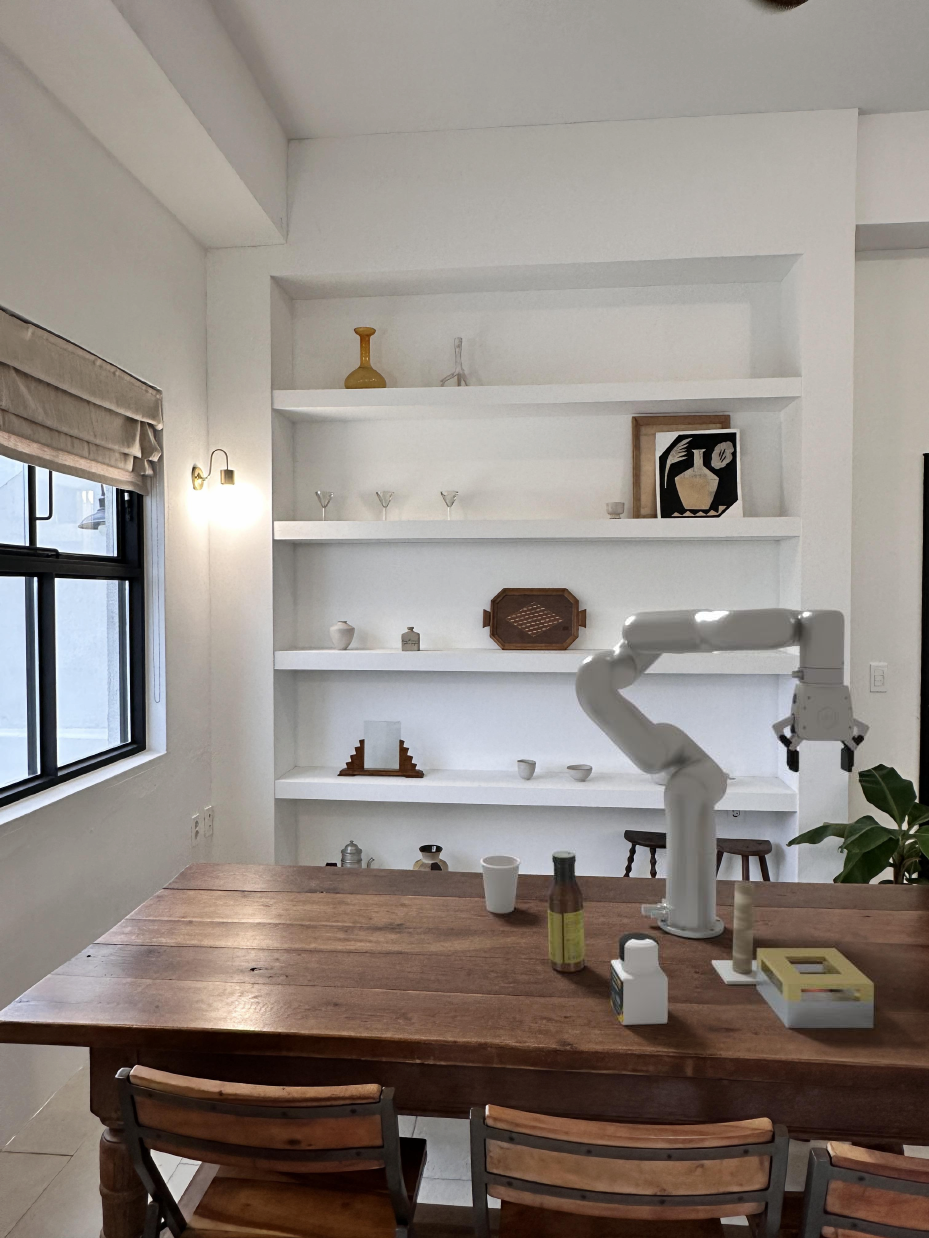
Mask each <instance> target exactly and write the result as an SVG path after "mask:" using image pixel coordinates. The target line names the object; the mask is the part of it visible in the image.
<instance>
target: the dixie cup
mask: <svg viewBox="0 0 929 1238" xmlns="http://www.w3.org/2000/svg"><path fill="white" fill-rule="evenodd" d="M479 863H480V864H481V869H482V878H483V887H484V895H485V904H486V910H487V911H488V912H491V913H494V914H508V913H511V912H512V911H514V909H515V903H516V894H517V888H518V887H517V885H518V877H519V869H520V865H521V860H520V859H519V858H517V857H515V856H512V855H507V854H506V855H505V854H493V855H487V856H484V857H483V858H481V860H480V862H479Z"/></svg>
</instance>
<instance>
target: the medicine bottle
mask: <svg viewBox="0 0 929 1238" xmlns="http://www.w3.org/2000/svg"><path fill="white" fill-rule="evenodd" d="M618 940H619V941H618V946H619V947H618V959H612V960H611V961H610V1000H609V1001H610V1005H611V1006H612V1008H613V1011H614V1012H615V1014H616V1016H617V1018H618V1020H619V1022H620V1023H621V1024H622V1025H623V1026H631V1025H632V1026H634V1025H636V1026H637V1025H639V1026H640V1025H658V1024H659V1025H660V1024H661V1025H662V1024H663V1025H664V1024H665V1025H666V1024H667V1023H668V1009H669V1008H668V1001H669V999H668V995H669V994H668V993H669V989H668V988H669V987H668V986H669V984H668V983H669V978H668V977H667V975H666V974H665V973H664V971H663V970H662V969H661V967H660V965H659V962H660V960H659V957H660V956H659V955H660V953H659V952H660V951H659V948H660V943H659V941H658V940H657V938H656V937H654V936H652V935H650V934H647V933H644V932H639V931H638V932H629V933H625V934H623V935H621V936H620V938H619V939H618Z"/></svg>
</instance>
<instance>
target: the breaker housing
mask: <svg viewBox="0 0 929 1238" xmlns="http://www.w3.org/2000/svg"><path fill="white" fill-rule="evenodd" d="M756 960H757V977H756V984H755V985H756V987H755V988H756V991H758V992H759V994H760V995H761V996H762V997H763V999H764V1000H765V1001H766V1002H767V1004H768V1005H769V1007H770V1008H771V1009H772V1010H773V1011H774V1013H775V1014H776V1015H777V1017H778V1018H779V1020H781V1022H782V1023H783V1025H784V1026H785V1027H786V1028H787V1029H793V1028H794V1029H829V1028H830V1029H838V1028H839V1029H852V1028H853V1029H857V1028H858V1029H863V1028H864V1029H871V1028H872V1029H873V1028H874V1012H875V1011H874V1010H875V1009H874V1005H875V1004H874V1001H875V1000H874V999H875V998H874V996H875V994H874V993H875V984H874V982H872V980H871V979H870V978H868V977H867V976H866V975H865V974H864V973H863V972H862V971H860V970H859V969H858V968H857V967H856V966H855V965H854V963H852V962H851V961H850V960H848V959H847V958H846V956H844V955H843V954H842V953H841V952H840V951H839V950H837V949H836V948H835V947H827V948H826V947H818V948H817V947H815V948H814V947H806V948H805V947H804V948H803V947H794V948H793V947H792V948H791V947H789V948H788V947H786V948H785V947H770V948H769V947H767V948H766V947H761V948H760V947H758V948H756ZM791 962H822V963H821V964H819V963H818V964H817V963H815V964H814V963H813V964H812V963H811V964H810V963H809V964H806V963H805V964H803V963H801V964H799V963H798V964H797V963H796V964H795V963H793V964H792V963H791ZM801 989H829V992H801Z"/></svg>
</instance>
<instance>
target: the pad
mask: <svg viewBox="0 0 929 1238" xmlns="http://www.w3.org/2000/svg"><path fill="white" fill-rule="evenodd" d="M732 963H733V959H732V960H727V959H726V960H725V959H723V960H720V959H719V960H718V959H717V960H716V959H715V960H714V959H712V960H711V965H712V966H713V968H714V969H715V970H716V972H717V973H718V975H719V977H721V979H722V981H723V982H724V983H725V984H726V985H756V977H757V959H752V973H750V974H739V973H736V972H734V971H733V969H732Z"/></svg>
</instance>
